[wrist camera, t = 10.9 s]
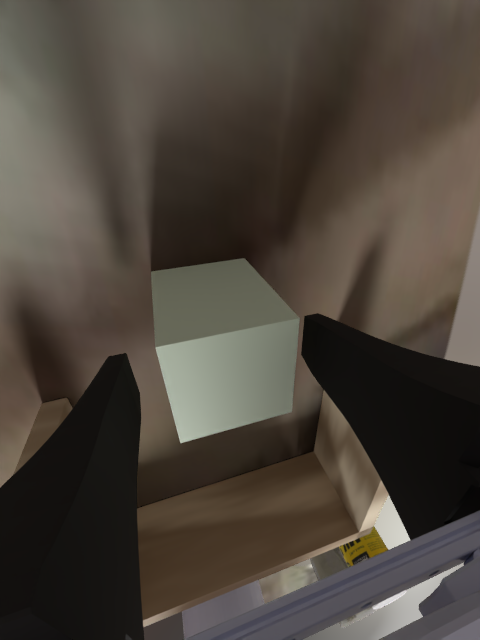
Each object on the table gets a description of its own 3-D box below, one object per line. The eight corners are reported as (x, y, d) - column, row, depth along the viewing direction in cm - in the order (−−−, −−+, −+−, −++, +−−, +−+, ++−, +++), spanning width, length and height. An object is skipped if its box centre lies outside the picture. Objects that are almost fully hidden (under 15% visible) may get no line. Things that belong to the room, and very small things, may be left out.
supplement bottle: (337, 500, 33) (389, 594, 26) (365, 497, 35) (420, 583, 28) (318, 523, 34) (361, 616, 28) (345, 519, 36) (392, 605, 30)
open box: (324, 455, 26) (370, 533, 21) (117, 523, 22) (109, 641, 17) (348, 333, 19) (429, 407, 13) (41, 403, 15) (-17, 548, 9)
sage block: (246, 332, 16) (291, 411, 11) (168, 348, 15) (180, 443, 10) (244, 257, 14) (299, 318, 9) (151, 271, 13) (155, 347, 8)
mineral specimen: (365, 538, 41) (395, 617, 35) (313, 553, 44) (332, 629, 38) (347, 532, 37) (378, 621, 31) (291, 550, 39) (309, 635, 33)
